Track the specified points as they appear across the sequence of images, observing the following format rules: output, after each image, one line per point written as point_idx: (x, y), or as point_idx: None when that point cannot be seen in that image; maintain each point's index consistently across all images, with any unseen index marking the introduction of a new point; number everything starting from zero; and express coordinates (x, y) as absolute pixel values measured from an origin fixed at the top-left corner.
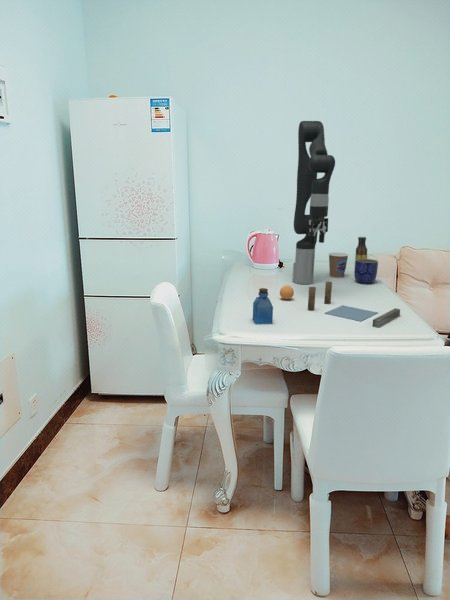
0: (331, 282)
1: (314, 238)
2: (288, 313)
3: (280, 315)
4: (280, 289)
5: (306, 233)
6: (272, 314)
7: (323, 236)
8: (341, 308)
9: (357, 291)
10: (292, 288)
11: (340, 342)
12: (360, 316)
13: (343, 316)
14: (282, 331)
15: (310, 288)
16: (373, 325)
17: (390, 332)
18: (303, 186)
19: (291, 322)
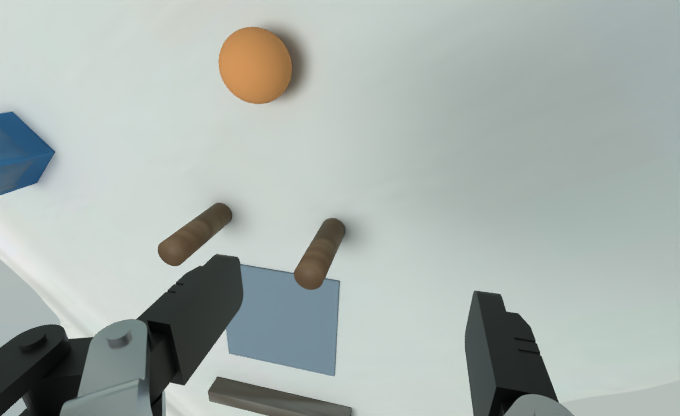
0: (311, 287)
1: (196, 357)
2: (135, 172)
3: (101, 162)
4: (230, 36)
5: (21, 334)
6: (7, 192)
7: (474, 413)
8: (299, 288)
9: (629, 269)
10: (261, 94)
11: None
12: (263, 346)
13: None
14: (26, 229)
15: (159, 250)
16: (216, 380)
17: (210, 407)
18: None
19: (86, 218)
